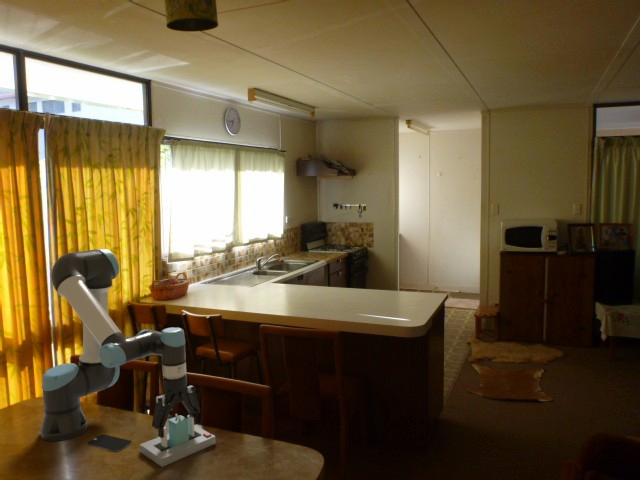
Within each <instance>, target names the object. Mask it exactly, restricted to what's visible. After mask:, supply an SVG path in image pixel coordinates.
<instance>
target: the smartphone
mask: <svg viewBox="0 0 640 480" xmlns="http://www.w3.org/2000/svg"><path fill="white" fill-rule="evenodd" d="M85 445H87V446H90V447H93V448H98V449H102V450H105V451H109V452H111V453H118V452H121V451H123V450H124V449H126V448H128V447H129V446H131V445H133V440H129V439H125V438H120V437H116V436H112V435H107V434H100V435H98V436H96V437H95V438H92V439H91V440H88V441H87V442H86V443H85Z"/></svg>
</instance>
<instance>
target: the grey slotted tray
mask: <svg viewBox="0 0 640 480" xmlns="http://www.w3.org/2000/svg"><path fill="white" fill-rule="evenodd" d="M188 435H189V434H188ZM216 440H217V439H216V435H214V434H212V433H210V432H209V431H206V430H205V429H203V428H201V427H200V426H198V425H196V424H195V425H194V436H191V435H189V441H187V442H185V443H182V444H180V445H177V446H175V447H173V448H170V440H169V432H167V447H166V448H165V447H164V446H162V445H161V438H160V437H159V436H157V437H155V438H153V439H150V440H147V441H146V442H143V443H140V444H139V450H140V451H139V453H141V455H143V456H144V457H146V458H147V459H149V460H150V461H152V462H153V463H155V464H156V465H158V466H159V467H161V468H165V467H167V466H169V465H172V464H173V463H176V462H179V461H181V460H183V459H185V458H187V457H190V456H192V455H194V454H196V453H198V452H201V451H203V450H206V449H208V448H210V447H213V446H215V445H216V444H217V441H216Z"/></svg>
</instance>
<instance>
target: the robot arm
mask: <svg viewBox="0 0 640 480" xmlns="http://www.w3.org/2000/svg"><path fill="white" fill-rule="evenodd" d="M119 264H120V263H119V261H118V259H117V257H116V256H115V254H114V253H113V252H112V251H111V250H109V249H106V248H98V249H97V248H95V249H89V250H83V251H77V252H68V253H65V254H63V255H61V256H60V257H58V259H56V261H55V262H54V263H53V266H52V269H51V272H50V275H51V276H50V278H51V284H52V286H53V288H54V290H55V291H56V293H57V295H58V296H60V297H63V298H65V299H66V301H67V303H68V304H69V305H70V306H71V307H72V309H73V310H74V312H75V313H76V315H77V316H78V318H79V319H80V320H81V322H82V334H83V336H82V337H83V338H82V339H83V340H82V344H83V348H82V349H83V352H82V354H81V355H79V357H78V365H77V364H76V363H72V362H71V363H70V362H68V363H64V364H63V363H61V364H57V365H55V366H53V367H51V368H49V369H48V370H46V371H45V372H44V374H43V375H42V379H41V380H42V382H41V389H42V397H43V407H44V409H43V410H44V415H43V420H42V422H41V427H40V437H41V440H43V441H46V442H47V441H48V442H60V441H61V442H62V441H65V440H69V439H73V438H75V437H77V436H79V435H81V434H83V433H84V432H86V430H87V429H88V421H87V418H86V416H85V413H84V411H83V409H82V406H81V399H82V398H83V397H86V396H89V395H92V394H94V393H95V394H96V393H97V392H100V391H104V390H107V388H110V387H112V386H114V385H115V383H116V382H118V379H119V377H120V366H123V365H124V364H128V363H130V362H133V361H135V360H139V359H143V358H145V357H149V356H151V355H152V356H153V355H156V356H160V357H161V364H162V376H163V377H162V385H163V390H164V391H163V394H162V395H156V396H154V397H155V398H154V402H155V406H154V411H153V416H152V423H151V427H152V428H154V429H156V430H157V434H158V436H157V437H160V438H161V445H162V446H164V447H165V448H166V447H167V434H168V432H167V431H168V430H167V429H168V428H167V427H166V426H165V425H166V423H167V420H168V418H169V415H170V412H171V410H172V409H173V407H174V405H176V404H179V403H181V404H182V405H183V406H184V408H185V410H186V411H187V413H188V415H187V416H186V418H187V419H188V434H189V435H191V436H194V425H196V423H197V421H196V420H197V419H196V418H197V417H198V414H199V413H201V407H200V404H199V400H198V397H197V394H196V386H193V385H191V384H189V385H188V377H187V376H188V375H187V362H186V361H187V360H186V359H187V357H186V338H185V331H184V329H183V328H181V327H167V328H164V329H162V330H161V331H157V330H154V329H141V330H140V331H139V332H138V333H136V334H135V335H134V336H130V337H126V336H125V334H123V333H122V331H121V329H119V327H118V325H116V323H115V322H114V320H113V319H112V317H110V314H109V302H108V301H109V290H110V289H111V288H112V286H113V280H114V279H116V278H117V277H118V275H119V273H120V265H119ZM187 385H188V386H187ZM187 393H188V396H189V399H190V402H191V403H190V402H189V400H188V398H187V397H186V396H187ZM163 405H164V406H163Z"/></svg>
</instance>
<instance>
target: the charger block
mask: <svg viewBox="0 0 640 480" xmlns="http://www.w3.org/2000/svg"><path fill="white" fill-rule="evenodd" d="M168 433H169V440H170V448H173V447H175V446H177V445H180V444H182V443H185V442H187V441H189V435H188V419H187V417H185V416H183V415H181V414H180V415H178V413H175V416H174V417H171V418H169V419H168Z"/></svg>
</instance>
